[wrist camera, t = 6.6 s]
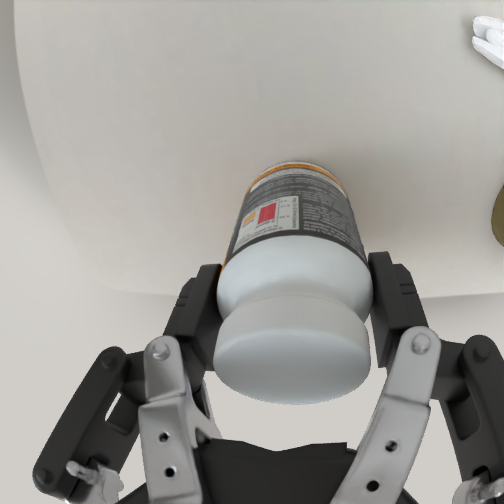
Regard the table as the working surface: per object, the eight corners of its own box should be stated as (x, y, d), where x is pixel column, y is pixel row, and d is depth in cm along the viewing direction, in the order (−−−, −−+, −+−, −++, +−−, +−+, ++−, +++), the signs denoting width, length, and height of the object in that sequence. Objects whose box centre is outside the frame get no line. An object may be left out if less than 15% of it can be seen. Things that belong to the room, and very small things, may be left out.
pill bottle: (224, 189, 15) (153, 344, 8) (319, 138, 13) (352, 281, 5) (278, 262, 18) (258, 417, 10) (364, 226, 15) (402, 389, 8)
